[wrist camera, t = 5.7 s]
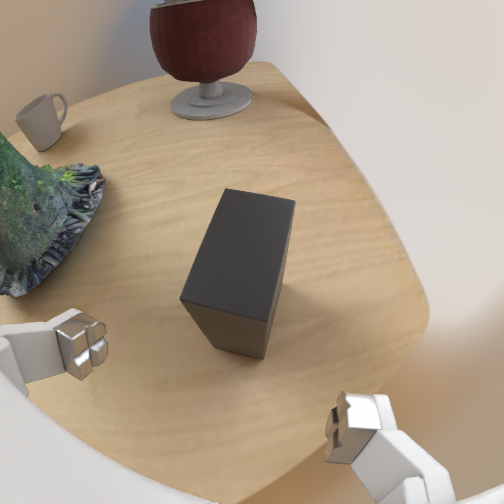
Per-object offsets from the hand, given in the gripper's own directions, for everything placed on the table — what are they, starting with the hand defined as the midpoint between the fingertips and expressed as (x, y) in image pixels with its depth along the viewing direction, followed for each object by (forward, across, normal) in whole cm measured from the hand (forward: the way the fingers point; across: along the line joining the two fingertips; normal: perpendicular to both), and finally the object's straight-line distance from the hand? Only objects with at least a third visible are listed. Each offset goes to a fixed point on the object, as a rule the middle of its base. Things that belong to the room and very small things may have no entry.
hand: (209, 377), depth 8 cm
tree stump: (+13, +25, +1) cm, 29 cm away
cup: (+25, +42, -11) cm, 50 cm away
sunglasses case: (+11, +1, +3) cm, 11 cm away
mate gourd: (+32, +15, -18) cm, 40 cm away
